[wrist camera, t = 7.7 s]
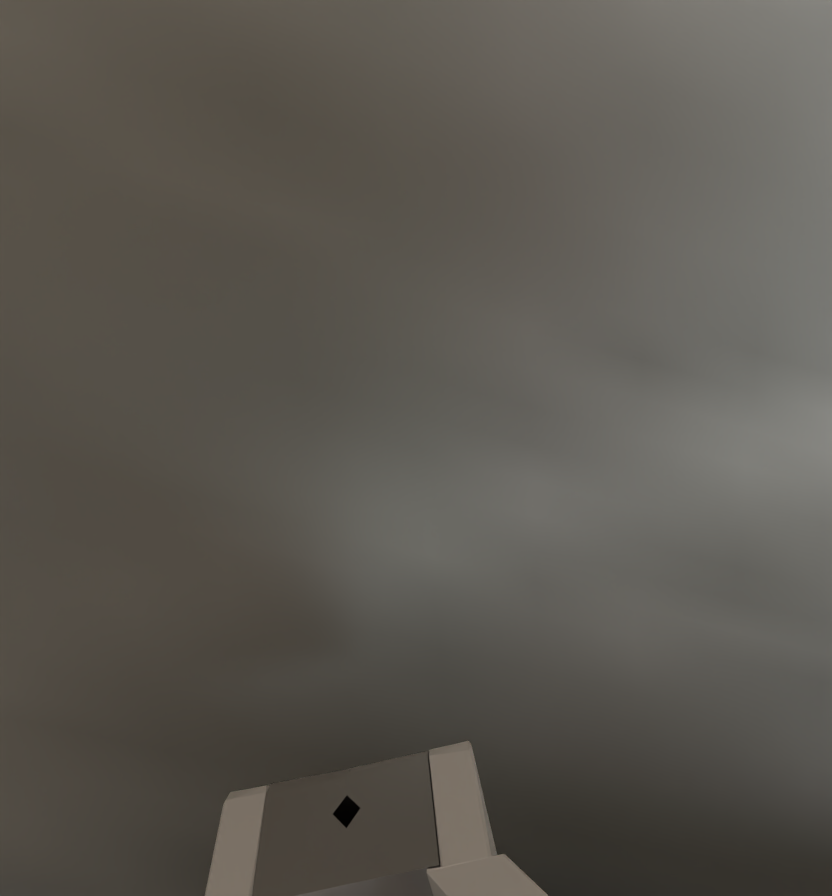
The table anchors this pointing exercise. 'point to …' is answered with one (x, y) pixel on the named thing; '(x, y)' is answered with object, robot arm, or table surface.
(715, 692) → the table surface
